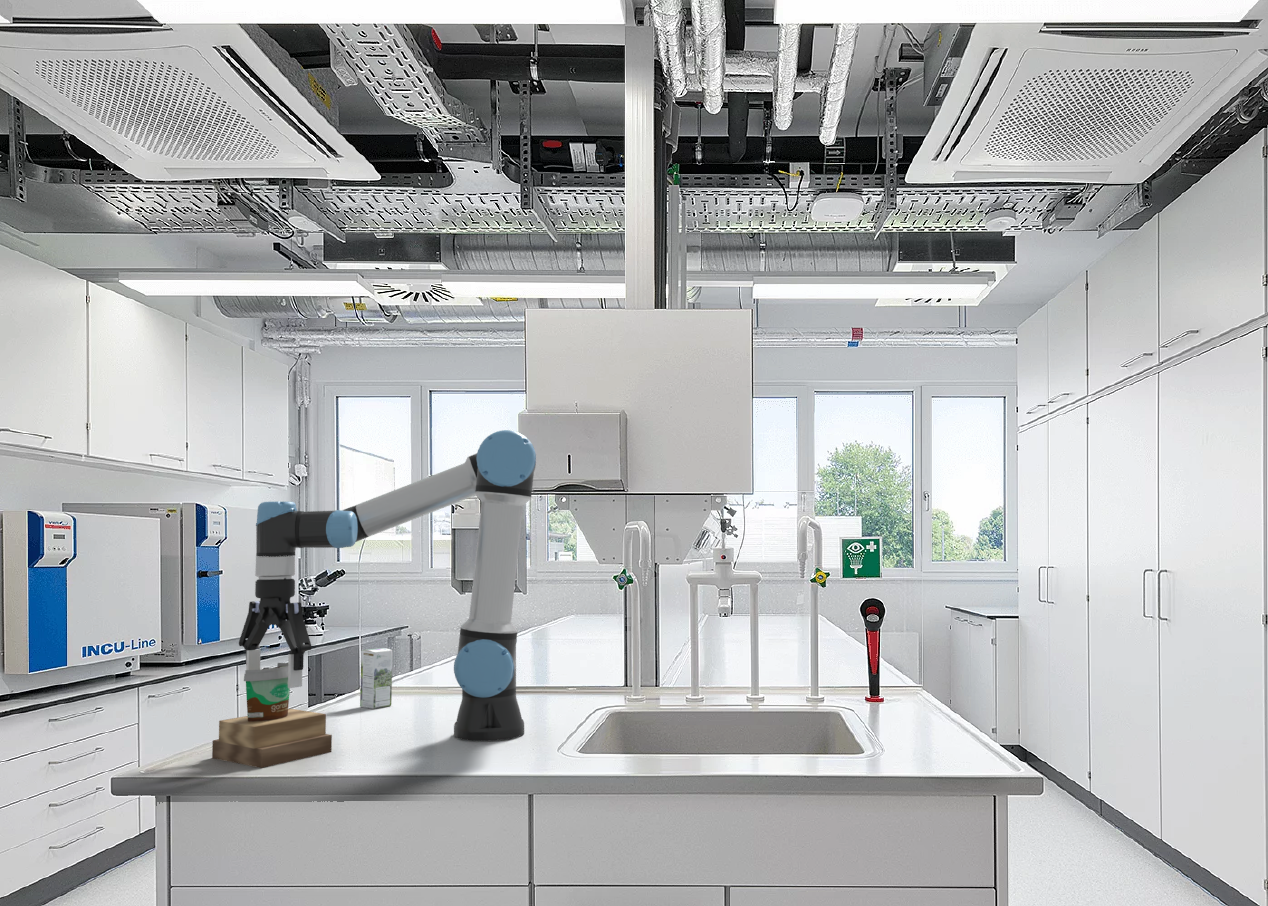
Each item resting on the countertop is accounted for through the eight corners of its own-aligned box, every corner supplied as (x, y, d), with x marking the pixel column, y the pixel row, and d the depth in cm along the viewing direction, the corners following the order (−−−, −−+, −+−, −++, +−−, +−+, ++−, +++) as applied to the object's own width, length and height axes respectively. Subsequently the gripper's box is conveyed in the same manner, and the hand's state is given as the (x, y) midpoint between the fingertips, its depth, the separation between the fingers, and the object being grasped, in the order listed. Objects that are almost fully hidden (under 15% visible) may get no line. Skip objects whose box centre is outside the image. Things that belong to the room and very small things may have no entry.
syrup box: (378, 704, 254) (378, 647, 255) (392, 706, 250) (392, 648, 251) (359, 707, 250) (360, 649, 251) (373, 709, 246) (374, 651, 247)
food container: (271, 723, 188) (272, 670, 189) (243, 722, 190) (243, 670, 191) (306, 712, 200) (306, 662, 201) (278, 711, 202) (279, 662, 203)
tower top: (325, 734, 198) (325, 714, 198) (254, 748, 185) (254, 727, 185) (290, 728, 205) (290, 708, 205) (218, 741, 192) (219, 720, 192)
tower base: (331, 755, 197) (331, 734, 197) (261, 771, 184) (261, 749, 184) (282, 746, 206) (282, 727, 206) (212, 761, 193) (212, 740, 193)
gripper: (330, 577, 194) (329, 686, 192) (254, 576, 208) (252, 678, 206) (298, 579, 188) (297, 692, 186) (222, 578, 202) (219, 682, 200)
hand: (273, 684), depth 196 cm, fingers open, 13 cm apart
